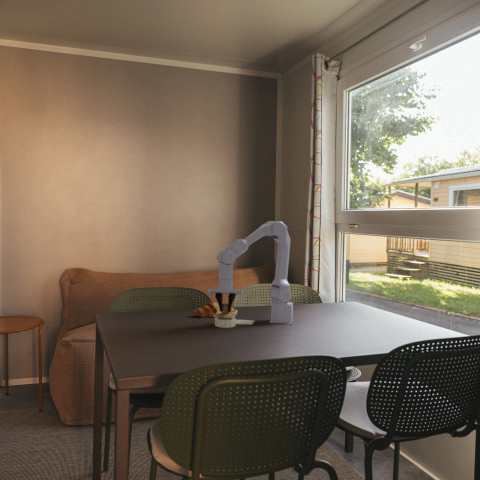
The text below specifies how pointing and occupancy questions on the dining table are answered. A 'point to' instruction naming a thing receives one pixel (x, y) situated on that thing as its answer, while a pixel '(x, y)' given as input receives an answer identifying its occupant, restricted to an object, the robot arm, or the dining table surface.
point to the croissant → (209, 310)
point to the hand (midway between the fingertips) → (225, 311)
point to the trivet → (245, 322)
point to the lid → (225, 312)
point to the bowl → (225, 322)
